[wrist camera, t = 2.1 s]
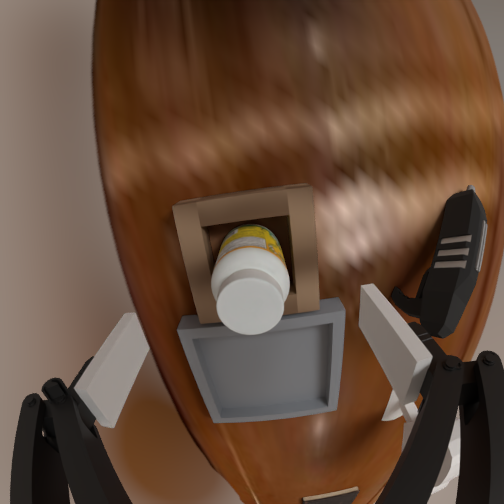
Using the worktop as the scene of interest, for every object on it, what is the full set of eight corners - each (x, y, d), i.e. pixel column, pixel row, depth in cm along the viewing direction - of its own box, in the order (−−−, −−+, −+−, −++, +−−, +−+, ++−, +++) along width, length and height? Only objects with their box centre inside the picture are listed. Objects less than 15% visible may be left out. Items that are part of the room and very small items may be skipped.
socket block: (179, 201, 23) (172, 206, 21) (306, 183, 22) (312, 186, 20) (204, 309, 27) (200, 323, 24) (314, 296, 26) (319, 309, 24)
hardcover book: (358, 484, 49) (360, 490, 46) (348, 502, 56) (349, 507, 54) (302, 495, 50) (303, 502, 47) (302, 510, 57) (303, 515, 55)
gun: (431, 207, 28) (494, 192, 19) (390, 328, 26) (463, 345, 16) (419, 193, 28) (483, 173, 18) (374, 318, 25) (451, 334, 15)
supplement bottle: (219, 223, 24) (199, 266, 15) (280, 221, 24) (297, 263, 15) (223, 279, 26) (209, 343, 17) (280, 277, 25) (294, 341, 16)
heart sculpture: (403, 418, 35) (435, 495, 18) (379, 426, 35) (406, 508, 19) (428, 358, 30) (486, 450, 13) (399, 367, 30) (453, 471, 13)
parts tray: (182, 315, 27) (176, 329, 25) (338, 297, 26) (345, 310, 24) (215, 409, 32) (213, 422, 30) (332, 396, 32) (336, 409, 29)
